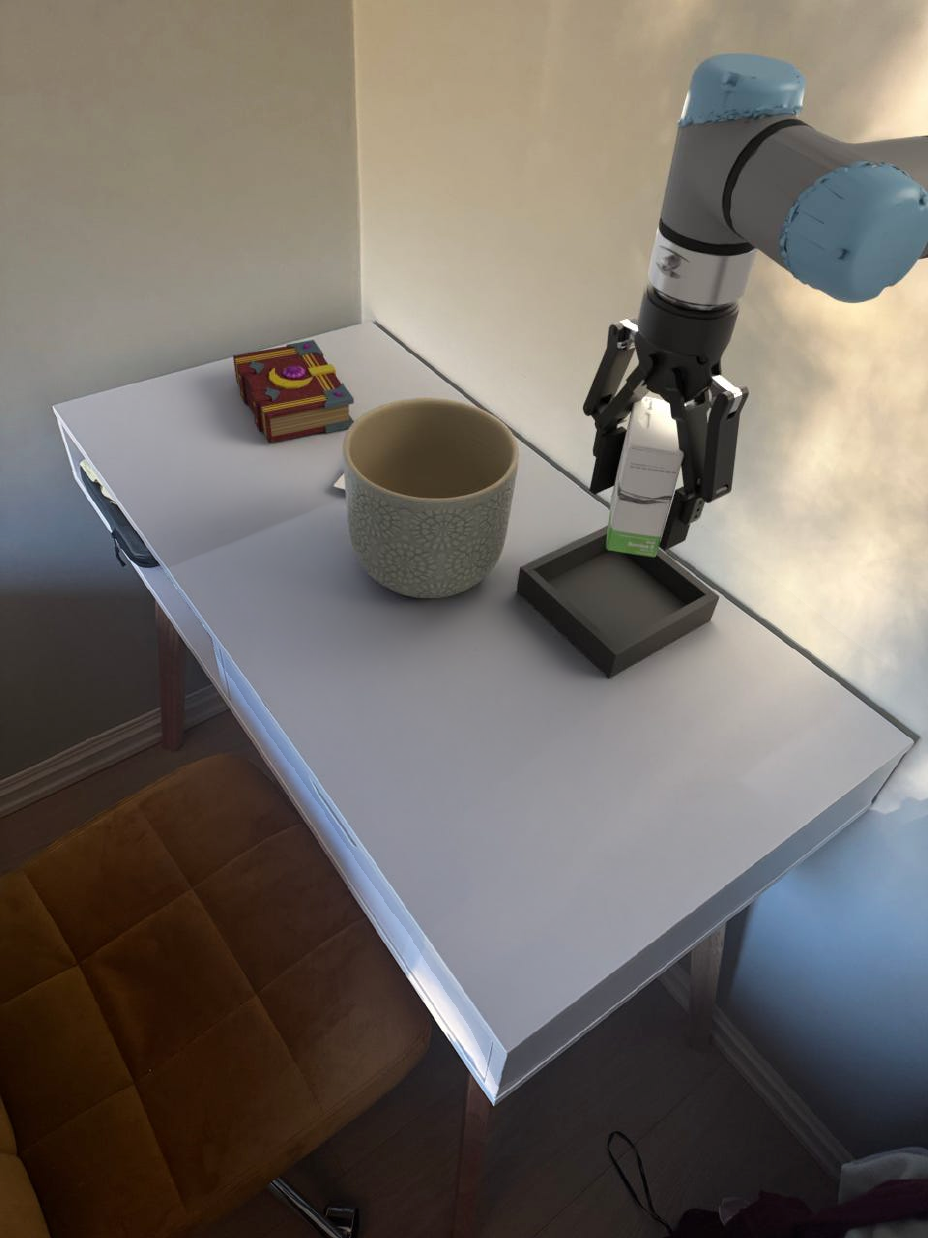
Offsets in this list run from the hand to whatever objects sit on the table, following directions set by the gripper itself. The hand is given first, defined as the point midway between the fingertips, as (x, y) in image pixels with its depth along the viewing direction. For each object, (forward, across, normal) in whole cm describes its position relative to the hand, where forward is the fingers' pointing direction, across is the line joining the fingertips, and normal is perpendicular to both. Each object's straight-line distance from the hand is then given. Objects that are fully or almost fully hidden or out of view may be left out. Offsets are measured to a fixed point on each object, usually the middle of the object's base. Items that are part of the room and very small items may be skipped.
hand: (636, 514), depth 86 cm
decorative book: (+13, -50, -10) cm, 53 cm away
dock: (+12, 0, 0) cm, 12 cm away
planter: (+12, -16, -13) cm, 24 cm away
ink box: (+2, 0, 0) cm, 2 cm away
